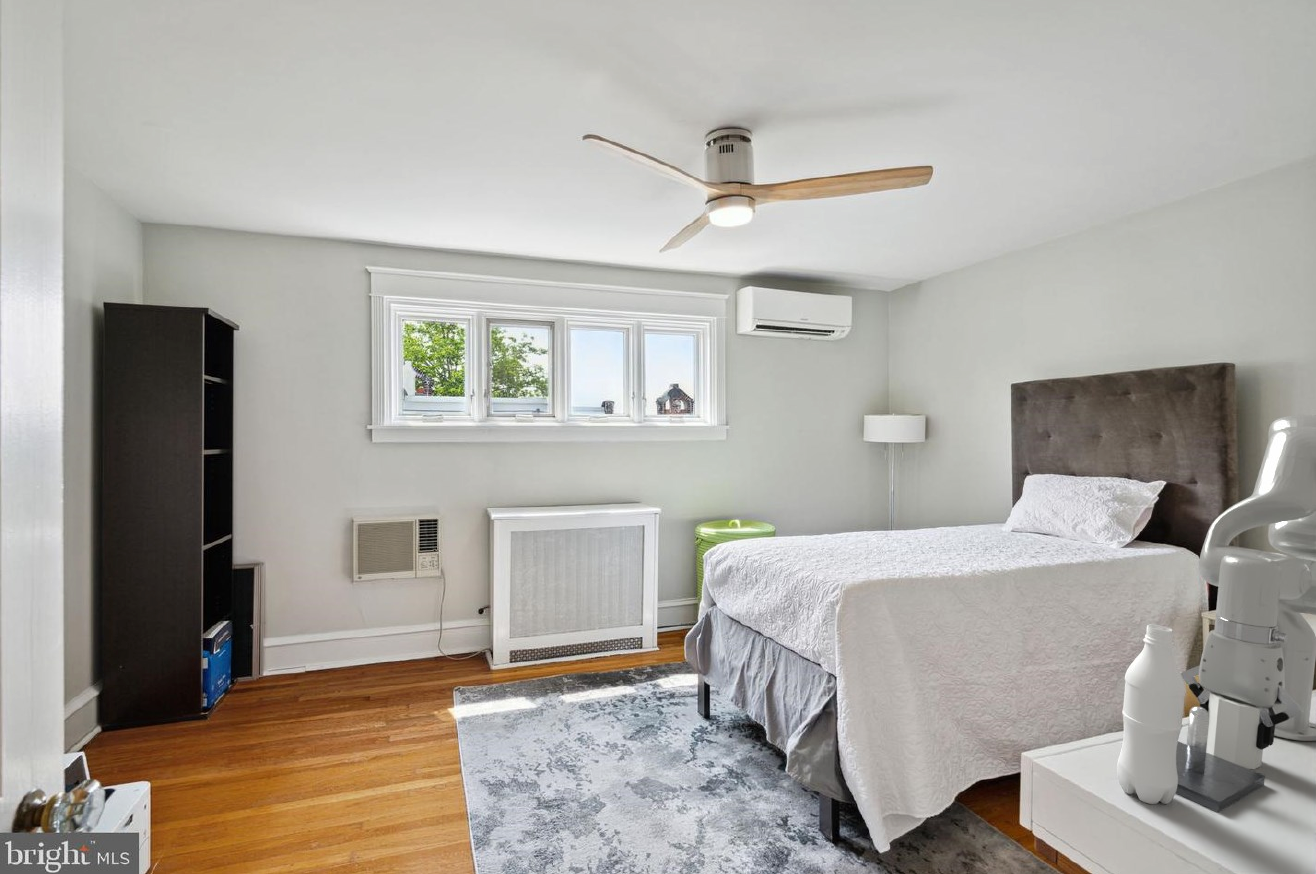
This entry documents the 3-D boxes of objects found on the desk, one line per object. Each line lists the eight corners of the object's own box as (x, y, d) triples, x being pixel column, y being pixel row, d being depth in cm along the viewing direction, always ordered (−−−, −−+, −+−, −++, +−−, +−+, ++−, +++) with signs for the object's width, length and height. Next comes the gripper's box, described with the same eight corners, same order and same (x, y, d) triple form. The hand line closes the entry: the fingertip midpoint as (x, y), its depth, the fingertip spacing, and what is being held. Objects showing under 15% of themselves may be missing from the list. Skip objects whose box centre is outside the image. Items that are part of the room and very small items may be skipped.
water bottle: (1186, 813, 93) (1202, 639, 92) (1129, 804, 95) (1144, 633, 94) (1159, 785, 100) (1173, 623, 99) (1106, 777, 102) (1120, 617, 101)
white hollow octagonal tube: (1216, 744, 115) (1222, 687, 114) (1266, 763, 109) (1272, 703, 109) (1199, 752, 111) (1204, 694, 111) (1249, 772, 106) (1255, 711, 105)
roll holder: (1172, 748, 112) (1178, 683, 112) (1264, 785, 102) (1271, 714, 102) (1124, 770, 104) (1130, 700, 104) (1218, 812, 94) (1225, 735, 94)
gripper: (1324, 645, 104) (1313, 757, 104) (1191, 612, 119) (1183, 710, 119) (1306, 652, 100) (1294, 768, 101) (1171, 617, 115) (1162, 718, 116)
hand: (1234, 735), depth 110 cm, fingers closed on white hollow octagonal tube, 6 cm apart
